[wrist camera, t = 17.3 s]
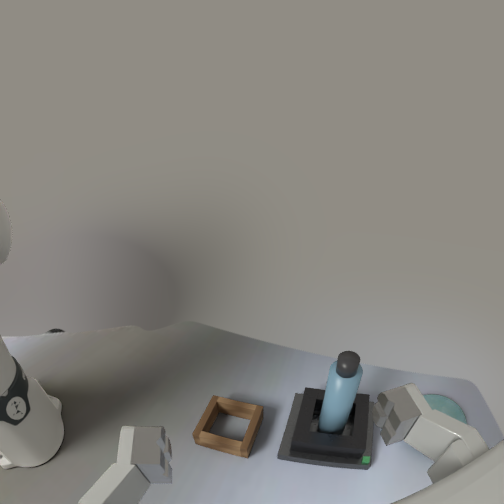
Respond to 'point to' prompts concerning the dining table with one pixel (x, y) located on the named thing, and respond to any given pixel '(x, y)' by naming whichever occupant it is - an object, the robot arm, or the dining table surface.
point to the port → (328, 445)
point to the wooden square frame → (233, 409)
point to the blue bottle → (340, 393)
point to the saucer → (445, 406)
